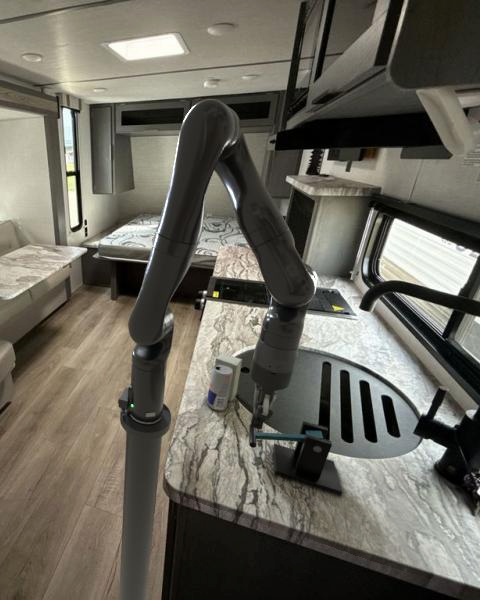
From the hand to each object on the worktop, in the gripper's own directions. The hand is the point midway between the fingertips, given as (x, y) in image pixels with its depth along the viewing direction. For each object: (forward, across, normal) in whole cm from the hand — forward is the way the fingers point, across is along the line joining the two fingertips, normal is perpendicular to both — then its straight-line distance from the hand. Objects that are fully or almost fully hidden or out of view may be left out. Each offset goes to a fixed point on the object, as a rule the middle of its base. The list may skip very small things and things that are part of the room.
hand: (255, 426), depth 69 cm
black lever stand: (+8, 0, +11) cm, 14 cm away
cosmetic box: (+8, -20, -7) cm, 23 cm away
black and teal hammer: (+2, 0, +6) cm, 7 cm away
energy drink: (+8, -14, -9) cm, 18 cm away
